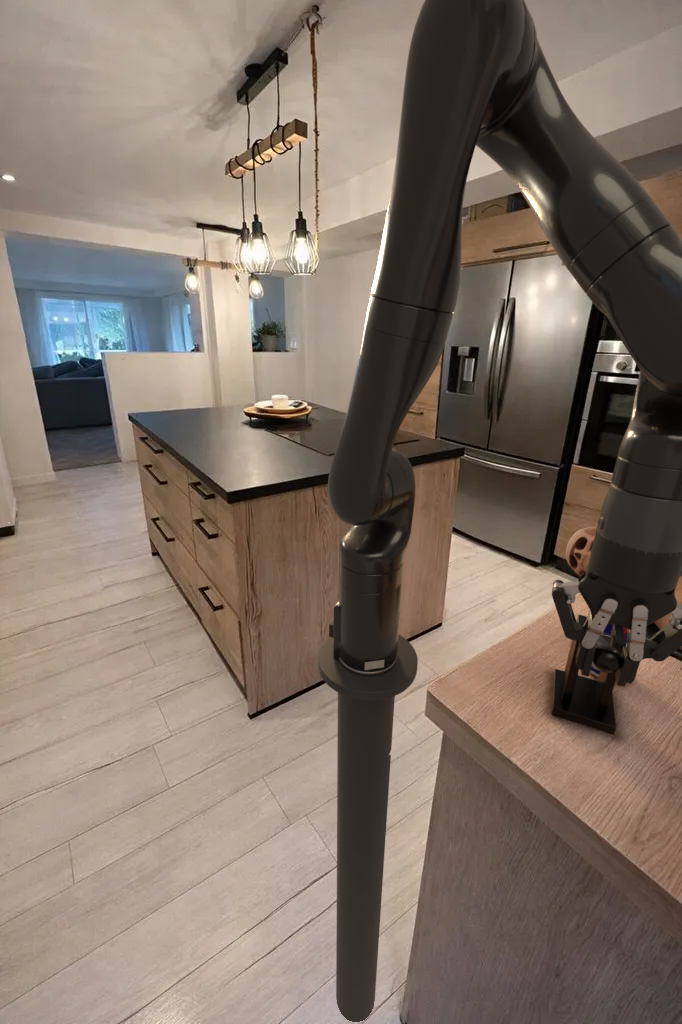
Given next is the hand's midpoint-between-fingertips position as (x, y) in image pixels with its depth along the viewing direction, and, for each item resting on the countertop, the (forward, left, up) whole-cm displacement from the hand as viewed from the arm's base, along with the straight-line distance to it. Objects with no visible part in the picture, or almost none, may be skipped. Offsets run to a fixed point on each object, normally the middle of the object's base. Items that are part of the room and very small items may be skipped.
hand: (601, 675), depth 48 cm
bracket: (0, +7, -10) cm, 13 cm away
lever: (0, +3, 0) cm, 3 cm away
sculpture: (+15, +26, -5) cm, 30 cm away
